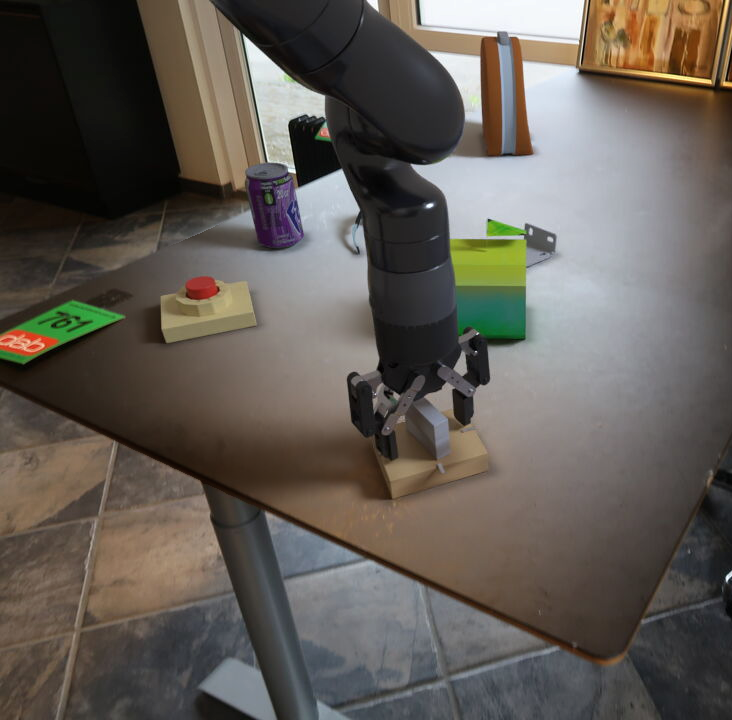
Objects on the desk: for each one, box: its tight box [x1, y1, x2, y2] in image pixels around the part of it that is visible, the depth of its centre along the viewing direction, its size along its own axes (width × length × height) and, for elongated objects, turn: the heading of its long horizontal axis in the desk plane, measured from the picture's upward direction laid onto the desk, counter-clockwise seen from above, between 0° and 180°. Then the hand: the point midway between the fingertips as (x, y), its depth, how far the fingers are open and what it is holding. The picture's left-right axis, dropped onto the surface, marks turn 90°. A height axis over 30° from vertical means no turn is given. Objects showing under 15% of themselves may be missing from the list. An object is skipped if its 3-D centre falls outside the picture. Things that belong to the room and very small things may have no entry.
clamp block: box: [370, 408, 489, 500], centre depth 72 cm, size 10×10×3 cm
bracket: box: [523, 222, 558, 268], centre depth 109 cm, size 7×10×4 cm, turn 140°
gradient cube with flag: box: [450, 218, 527, 340], centre depth 90 cm, size 11×10×15 cm
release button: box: [184, 275, 218, 300], centre depth 92 cm, size 4×4×2 cm
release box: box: [160, 279, 258, 344], centre depth 93 cm, size 11×9×4 cm
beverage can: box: [244, 162, 305, 249], centre depth 110 cm, size 7×7×12 cm
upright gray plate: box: [404, 396, 450, 460], centre depth 70 cm, size 6×2×5 cm, turn 39°
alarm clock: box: [479, 30, 535, 157], centre depth 148 cm, size 22×10×23 cm, turn 8°
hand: (427, 437), depth 71 cm, fingers open, 8 cm apart
